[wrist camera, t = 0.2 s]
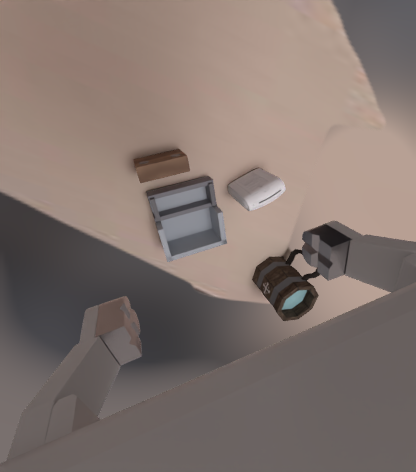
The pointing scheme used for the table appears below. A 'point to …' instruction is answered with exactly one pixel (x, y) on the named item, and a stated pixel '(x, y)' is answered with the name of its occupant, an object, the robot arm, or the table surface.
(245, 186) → the photo printer
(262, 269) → the mug
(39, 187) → the table surface
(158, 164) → the brown rectangular block
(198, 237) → the cabinet
